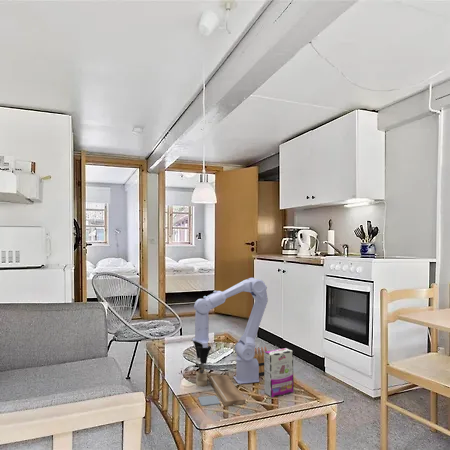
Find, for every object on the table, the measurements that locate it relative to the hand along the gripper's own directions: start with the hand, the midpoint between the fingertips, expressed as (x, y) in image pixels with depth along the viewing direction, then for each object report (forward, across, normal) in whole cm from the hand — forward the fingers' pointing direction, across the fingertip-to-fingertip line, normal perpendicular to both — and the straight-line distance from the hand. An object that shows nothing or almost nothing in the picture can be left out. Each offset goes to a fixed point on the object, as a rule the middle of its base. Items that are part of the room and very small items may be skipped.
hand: (201, 360), depth 151 cm
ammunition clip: (+10, -4, +28) cm, 30 cm away
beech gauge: (+10, 0, 0) cm, 10 cm away
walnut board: (+10, +9, +8) cm, 16 cm away
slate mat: (+10, +16, 0) cm, 19 cm away
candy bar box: (+10, +16, +28) cm, 34 cm away
